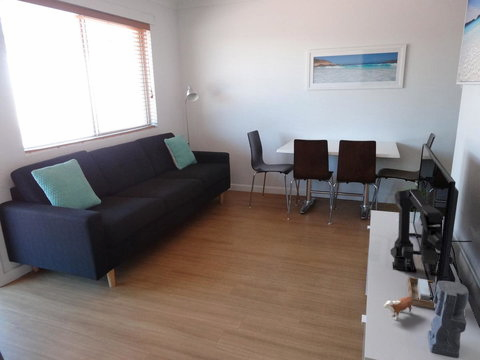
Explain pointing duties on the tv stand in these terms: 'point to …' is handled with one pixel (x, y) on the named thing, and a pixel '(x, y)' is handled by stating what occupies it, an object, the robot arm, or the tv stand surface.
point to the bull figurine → (399, 306)
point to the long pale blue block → (423, 290)
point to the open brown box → (414, 294)
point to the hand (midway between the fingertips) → (424, 272)
